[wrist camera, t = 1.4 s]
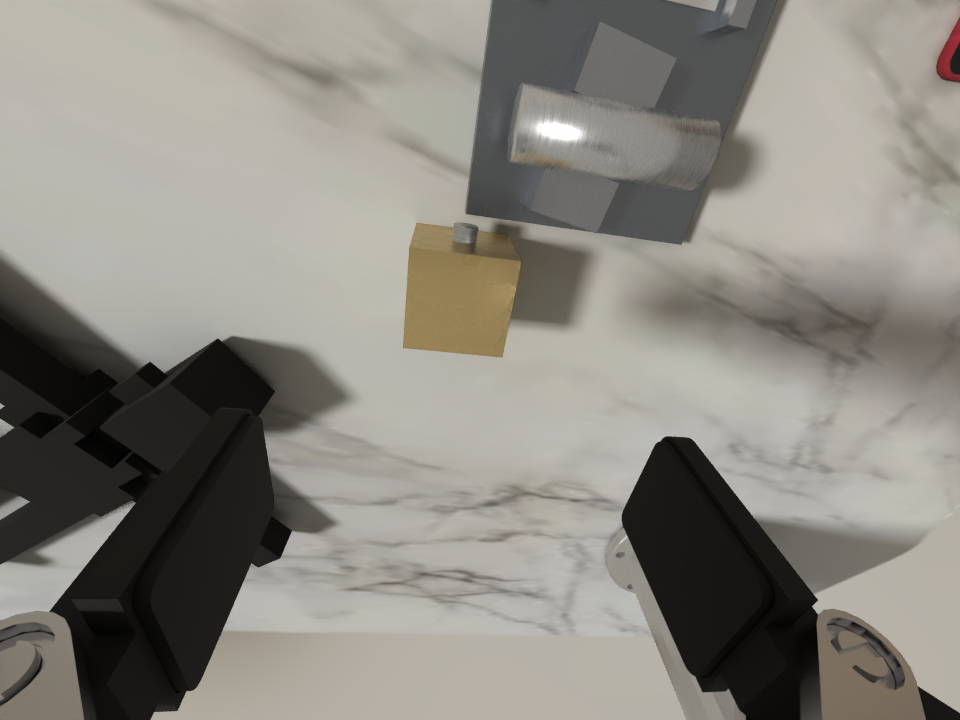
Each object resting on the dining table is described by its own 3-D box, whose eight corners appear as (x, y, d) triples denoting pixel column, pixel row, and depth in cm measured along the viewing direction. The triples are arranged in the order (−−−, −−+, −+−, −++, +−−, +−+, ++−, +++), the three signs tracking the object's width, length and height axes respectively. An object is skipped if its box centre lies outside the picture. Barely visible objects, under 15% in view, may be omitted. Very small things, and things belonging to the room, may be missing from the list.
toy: (-470, 461, 20) (-228, 102, 13) (-292, 394, 25) (-36, 103, 17) (71, 666, 34) (356, 553, 26) (121, 597, 38) (374, 483, 30)
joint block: (509, 222, 22) (524, 245, 18) (490, 327, 25) (500, 369, 21) (417, 209, 21) (410, 230, 17) (409, 318, 25) (402, 360, 20)
